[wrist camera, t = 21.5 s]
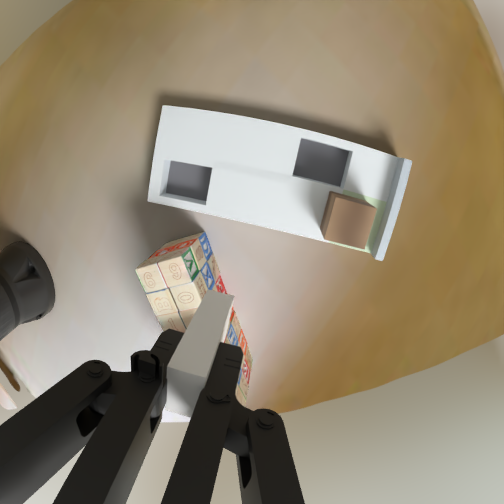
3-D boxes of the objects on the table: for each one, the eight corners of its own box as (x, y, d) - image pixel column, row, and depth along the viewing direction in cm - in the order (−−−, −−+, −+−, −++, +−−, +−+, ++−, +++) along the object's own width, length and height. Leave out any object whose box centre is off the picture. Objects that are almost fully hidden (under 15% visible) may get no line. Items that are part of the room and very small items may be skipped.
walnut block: (319, 228, 35) (324, 239, 30) (329, 190, 33) (335, 197, 29) (355, 237, 35) (364, 249, 30) (366, 200, 33) (377, 208, 29)
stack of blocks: (164, 242, 40) (121, 279, 29) (205, 230, 39) (172, 265, 28) (216, 365, 47) (198, 422, 35) (254, 359, 45) (243, 419, 34)
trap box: (155, 197, 38) (140, 204, 34) (170, 107, 34) (156, 103, 30) (372, 248, 37) (382, 261, 33) (398, 159, 33) (412, 161, 29)
